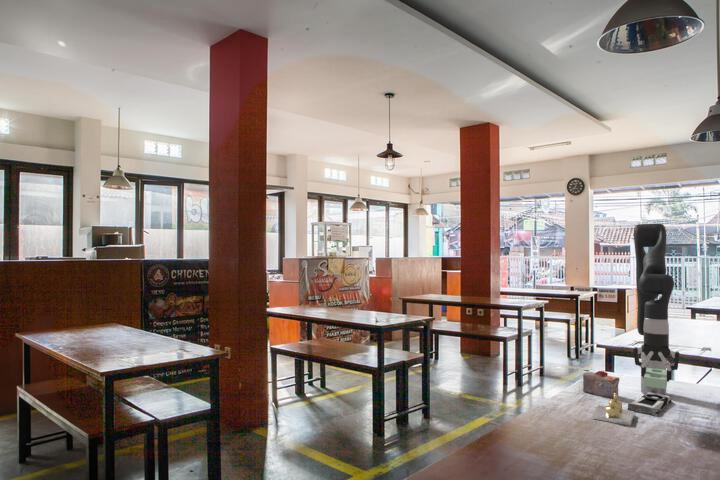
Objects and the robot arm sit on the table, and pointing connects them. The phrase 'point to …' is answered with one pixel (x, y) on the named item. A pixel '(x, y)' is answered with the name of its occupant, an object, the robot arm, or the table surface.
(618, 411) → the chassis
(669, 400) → the graphics card
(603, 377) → the food item
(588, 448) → the table surface
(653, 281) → the robot arm
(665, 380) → the board
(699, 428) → the table surface
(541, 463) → the table surface
